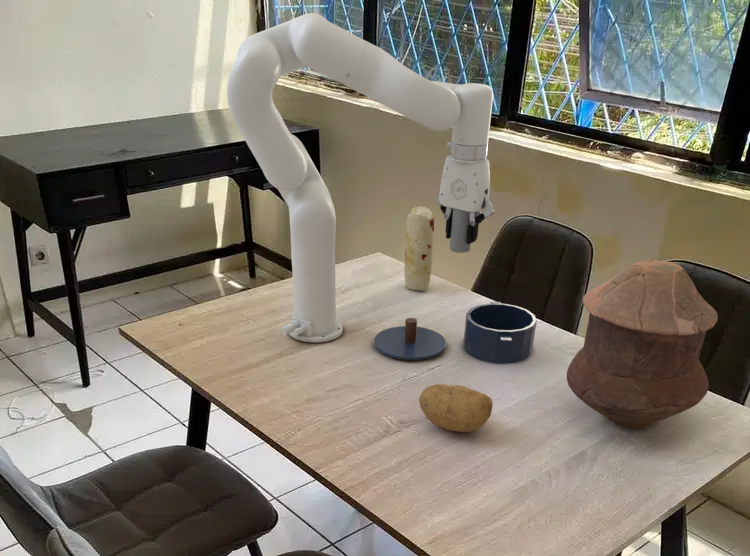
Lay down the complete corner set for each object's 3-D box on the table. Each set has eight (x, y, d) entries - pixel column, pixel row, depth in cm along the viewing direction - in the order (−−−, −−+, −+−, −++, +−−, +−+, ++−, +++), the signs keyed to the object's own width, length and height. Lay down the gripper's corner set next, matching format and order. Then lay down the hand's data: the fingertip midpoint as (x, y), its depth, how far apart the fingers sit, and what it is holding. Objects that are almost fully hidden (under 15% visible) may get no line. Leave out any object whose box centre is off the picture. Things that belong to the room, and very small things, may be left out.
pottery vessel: (628, 467, 137) (670, 306, 119) (532, 404, 154) (556, 256, 136) (723, 428, 148) (774, 276, 130) (623, 374, 166) (657, 233, 148)
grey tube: (472, 247, 173) (476, 200, 167) (467, 254, 170) (472, 206, 164) (452, 245, 175) (456, 197, 168) (447, 251, 171) (451, 203, 165)
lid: (443, 331, 181) (445, 306, 177) (448, 363, 168) (450, 337, 164) (374, 329, 181) (374, 304, 177) (373, 361, 168) (373, 335, 164)
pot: (524, 329, 183) (528, 299, 178) (537, 370, 166) (543, 338, 162) (460, 328, 183) (463, 297, 178) (467, 368, 166) (470, 336, 162)
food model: (436, 292, 200) (442, 213, 188) (412, 295, 198) (416, 215, 186) (421, 278, 208) (425, 202, 196) (398, 281, 206) (401, 204, 194)
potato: (428, 406, 153) (430, 370, 148) (496, 423, 148) (501, 386, 143) (408, 430, 146) (411, 392, 141) (479, 448, 141) (484, 410, 136)
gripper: (424, 148, 162) (419, 235, 173) (495, 161, 154) (485, 252, 165) (444, 142, 166) (438, 227, 177) (513, 155, 158) (502, 244, 169)
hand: (460, 238), depth 171 cm, fingers closed on grey tube, 4 cm apart
